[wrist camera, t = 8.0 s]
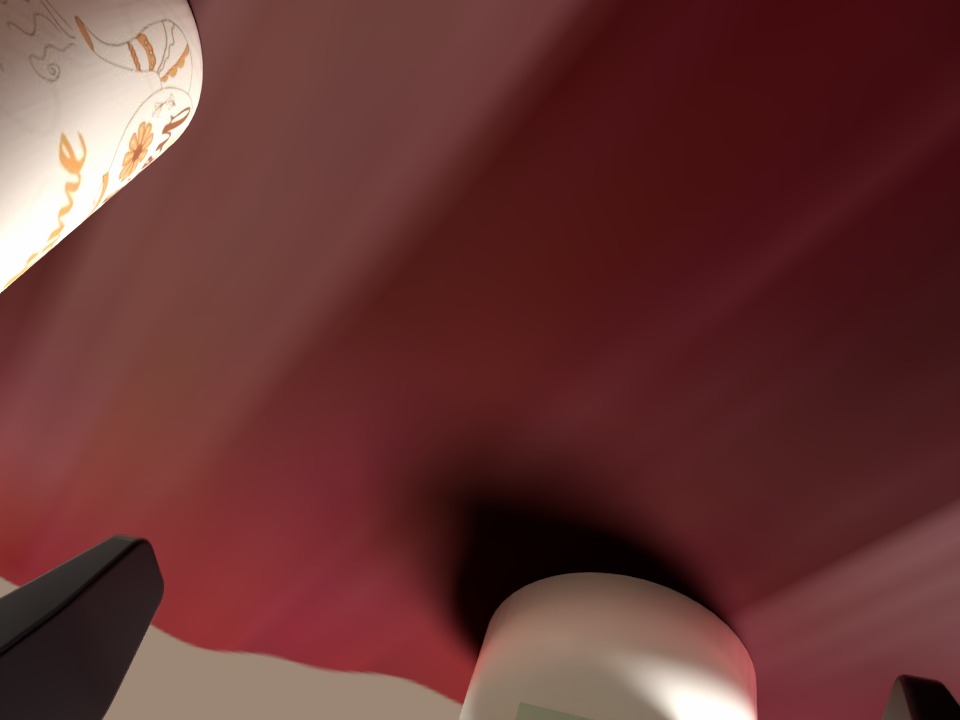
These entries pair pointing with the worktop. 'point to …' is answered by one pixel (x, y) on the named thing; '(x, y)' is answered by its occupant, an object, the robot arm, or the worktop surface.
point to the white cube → (543, 714)
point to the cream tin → (610, 654)
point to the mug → (85, 109)
